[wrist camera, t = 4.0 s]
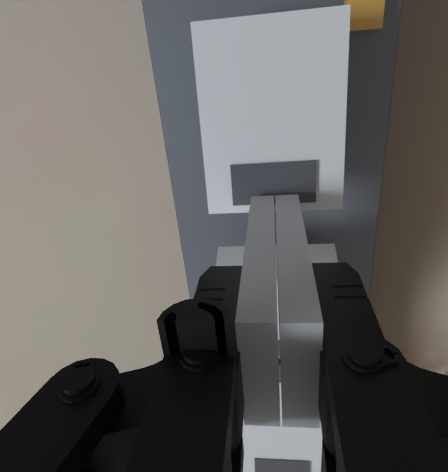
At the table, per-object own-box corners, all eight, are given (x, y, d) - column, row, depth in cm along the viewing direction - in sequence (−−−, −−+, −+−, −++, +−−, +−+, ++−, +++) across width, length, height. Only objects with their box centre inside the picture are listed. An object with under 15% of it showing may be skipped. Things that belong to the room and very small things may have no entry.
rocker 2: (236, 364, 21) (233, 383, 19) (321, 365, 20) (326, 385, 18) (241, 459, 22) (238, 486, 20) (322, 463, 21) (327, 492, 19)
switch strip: (154, -90, 15) (106, -144, 11) (383, -125, 14) (438, -202, 10) (219, 385, 28) (209, 452, 24) (342, 388, 27) (357, 459, 23)
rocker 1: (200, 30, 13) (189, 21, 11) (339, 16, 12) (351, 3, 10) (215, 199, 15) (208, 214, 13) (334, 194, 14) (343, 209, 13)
